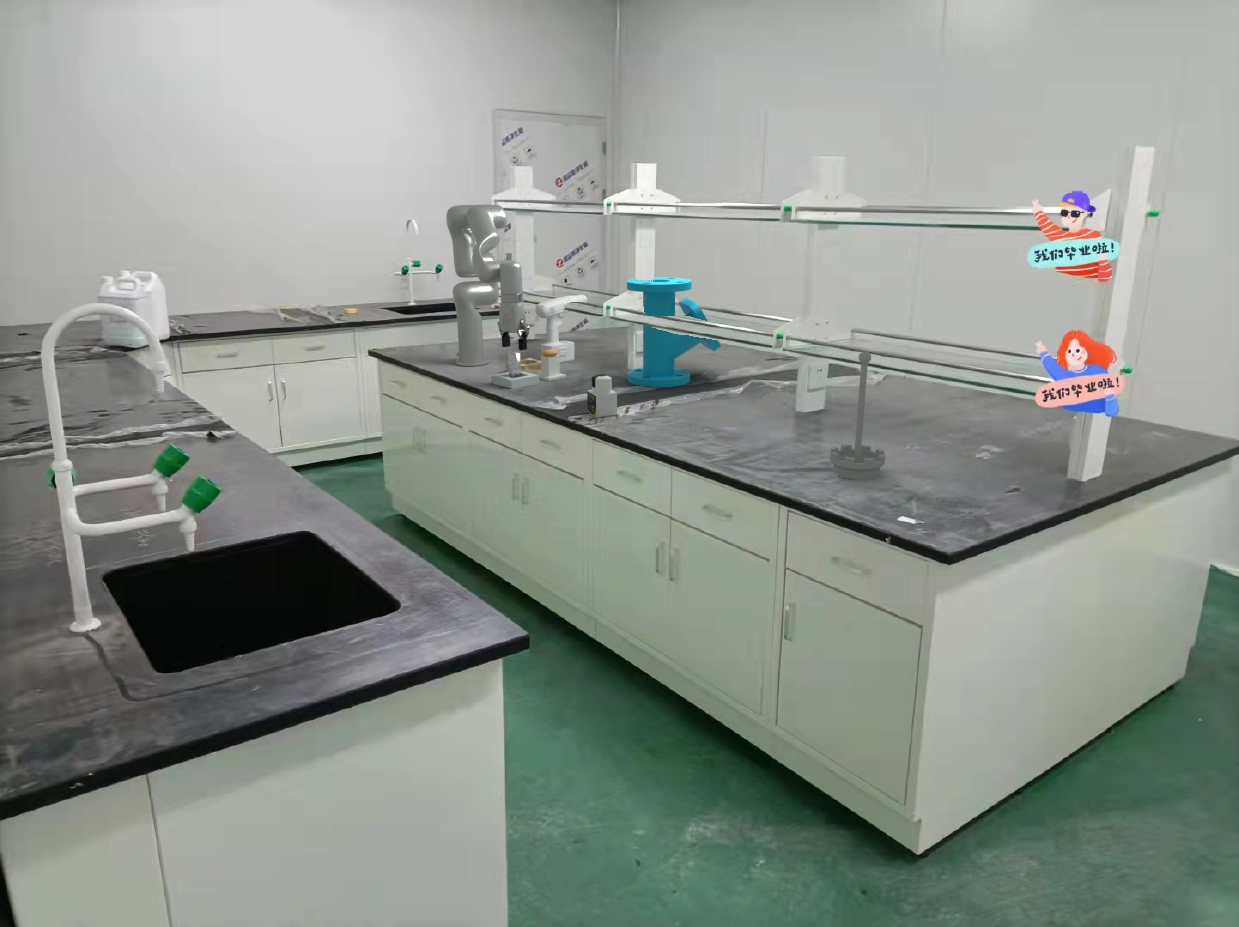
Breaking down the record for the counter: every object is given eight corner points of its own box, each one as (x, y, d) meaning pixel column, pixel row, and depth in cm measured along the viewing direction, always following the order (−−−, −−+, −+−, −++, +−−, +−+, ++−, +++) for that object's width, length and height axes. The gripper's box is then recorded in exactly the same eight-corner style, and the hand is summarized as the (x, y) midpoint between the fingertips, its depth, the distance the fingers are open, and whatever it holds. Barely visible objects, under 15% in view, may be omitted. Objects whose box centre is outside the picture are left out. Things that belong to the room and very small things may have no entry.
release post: (535, 377, 325) (534, 355, 323) (552, 374, 330) (551, 352, 328) (548, 380, 319) (548, 358, 317) (566, 377, 325) (565, 355, 322)
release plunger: (539, 373, 325) (538, 350, 322) (551, 370, 328) (551, 348, 326) (549, 375, 321) (548, 352, 318) (561, 373, 324) (560, 350, 322)
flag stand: (886, 482, 212) (897, 357, 203) (830, 479, 214) (838, 356, 205) (880, 465, 224) (891, 347, 215) (827, 463, 226) (835, 345, 217)
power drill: (593, 357, 360) (592, 294, 353) (545, 365, 345) (543, 300, 337) (580, 354, 366) (579, 292, 359) (532, 362, 351) (530, 298, 343)
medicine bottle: (587, 412, 277) (586, 374, 273) (608, 410, 279) (608, 372, 276) (595, 417, 270) (595, 379, 267) (617, 415, 273) (617, 376, 269)
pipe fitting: (621, 375, 328) (620, 278, 317) (704, 370, 334) (706, 275, 323) (635, 388, 307) (635, 285, 296) (723, 383, 313) (726, 282, 302)
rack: (506, 372, 334) (505, 362, 332) (529, 368, 341) (529, 358, 340) (523, 377, 326) (523, 366, 325) (547, 372, 333) (547, 362, 332)
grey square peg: (506, 383, 316) (505, 352, 313) (516, 381, 319) (515, 351, 316) (514, 385, 313) (512, 354, 310) (524, 383, 316) (523, 352, 312)
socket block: (491, 383, 316) (491, 375, 315) (519, 378, 324) (518, 370, 323) (511, 388, 308) (511, 380, 307) (539, 383, 316) (539, 375, 315)
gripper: (488, 298, 310) (491, 347, 315) (518, 301, 298) (520, 352, 303) (506, 296, 315) (508, 344, 320) (536, 299, 303) (538, 349, 308)
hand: (514, 348), depth 312 cm, fingers open, 9 cm apart
